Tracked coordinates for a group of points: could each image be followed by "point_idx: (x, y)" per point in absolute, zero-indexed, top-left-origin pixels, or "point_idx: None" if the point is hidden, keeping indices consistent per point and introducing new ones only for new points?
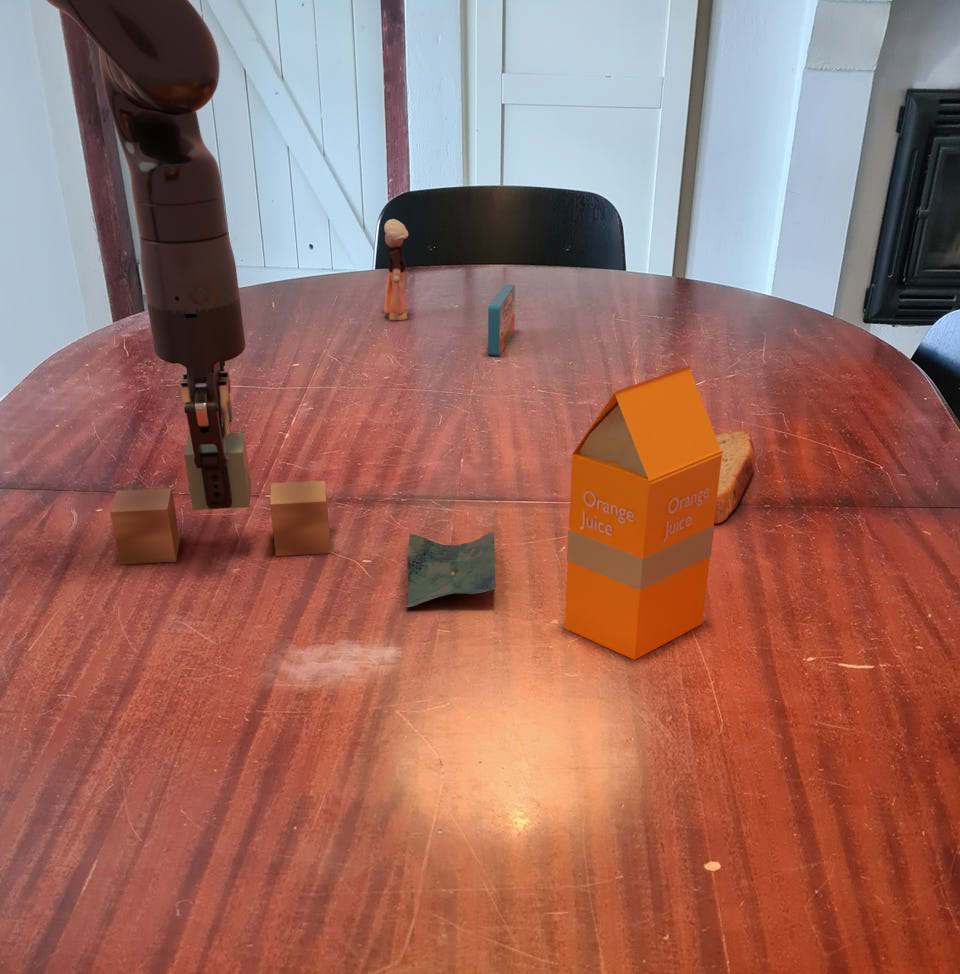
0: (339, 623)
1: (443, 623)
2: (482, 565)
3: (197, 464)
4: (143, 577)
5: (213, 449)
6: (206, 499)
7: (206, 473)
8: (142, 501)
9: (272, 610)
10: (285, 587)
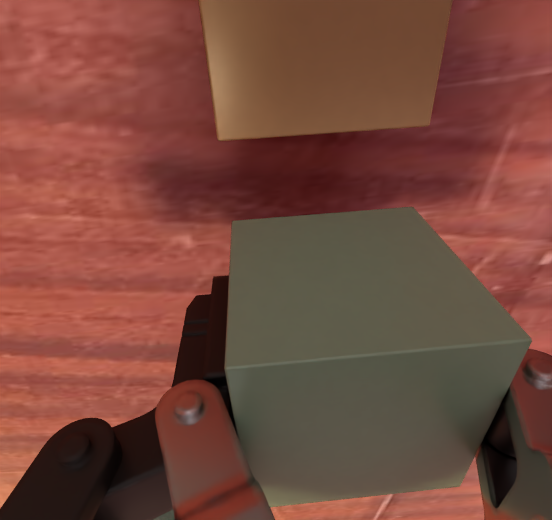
0: (7, 395)
1: None
2: (172, 511)
3: (46, 452)
4: (119, 10)
5: (291, 446)
6: (213, 289)
7: (175, 383)
8: (303, 13)
9: (19, 316)
10: (118, 324)
